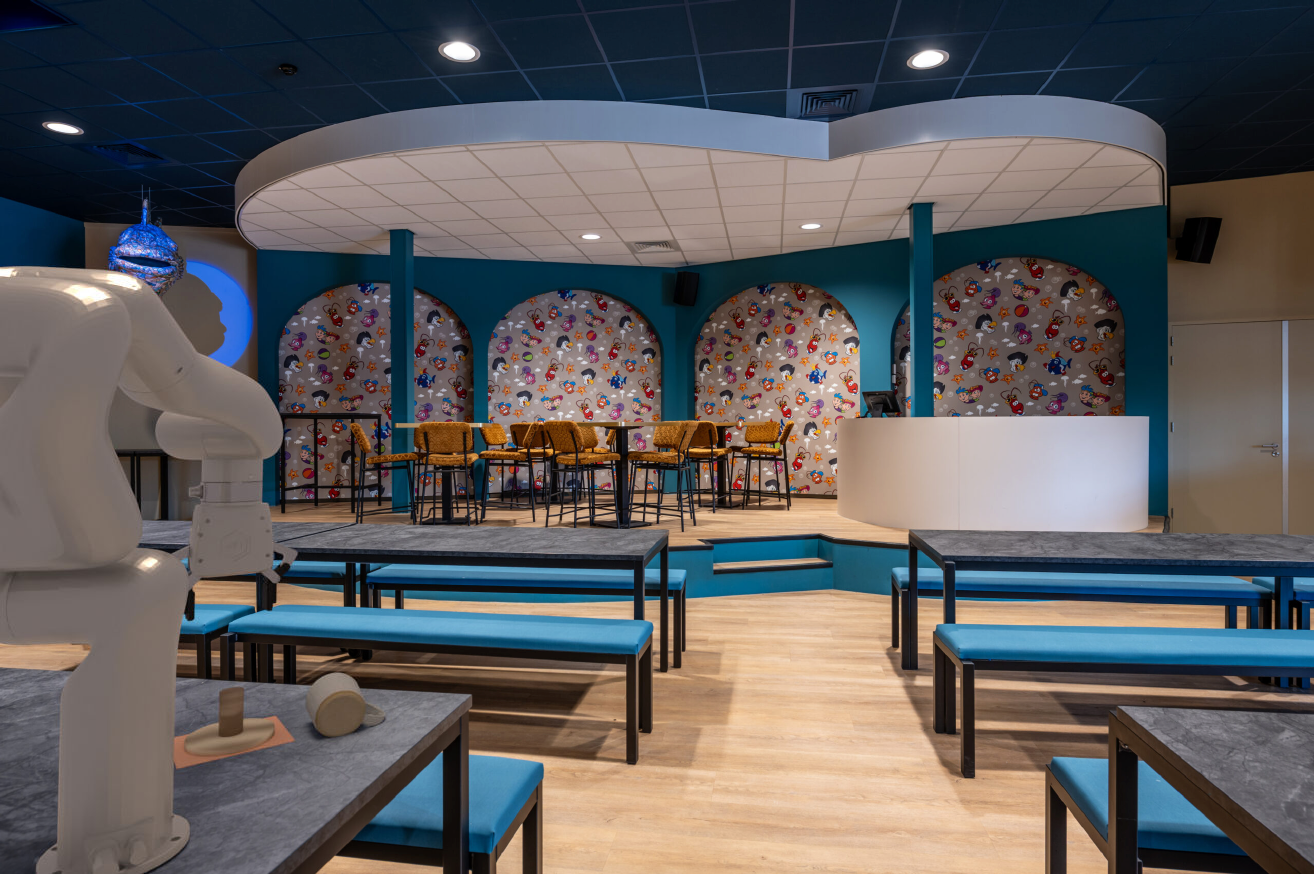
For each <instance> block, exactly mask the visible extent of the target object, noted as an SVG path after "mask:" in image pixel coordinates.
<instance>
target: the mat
mask: <svg viewBox="0 0 1314 874" xmlns="http://www.w3.org/2000/svg"><path fill="white" fill-rule="evenodd" d="M262 719H266V720H269V721H271V722H273V723H274V725H275V734H274V736H273V737H272V738H271V739H270V740H269V741H267V742H266V743H264V744H262V745H260V746H258V747H255V748H253V749H250V750H246V751H243V752H239V753H235V754H230V755H223V756H212V757H202V756H194V755H190V754H188V753H187V752H185V750H184V741H185V738H186V737H187V736H188V735H189V734H190V733H188V734H184V735H178V736H174V766H175V769H176V770H179V769H183V768H188V767H192V766H196V765H200V764H205V763H208V762H209V763H210V762H214V761H218V760H221V759H225V758H229V757H235V756H239V755H242V754H243V755H244V754H246V753H247V754H248V753H251V752H255V751H256V752H257V751H259V750H264V749H268V748H272V747H276V746H280V745H284V744H290V743H293V742H296V739H295V738H294V736H292V735H291V733H290V732H289V731H288V730H287V728H286V726H285V725H284V724H283V723H282V722H281V720H280V719H279V718H278V717H277V715H274V716H268V717H263V718H262Z"/></svg>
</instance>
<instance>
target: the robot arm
mask: <svg viewBox="0 0 1314 874" xmlns="http://www.w3.org/2000/svg"><path fill="white" fill-rule="evenodd" d="M0 377H2V378H3V377H5V378H6V377H7V378H8V377H9V378H12V377H13V378H21V380H20V381H19V383H18V384H17V386H16V388H15V390H14V391H13V393H11V396H10V397H9V398H8V399H7V400H6V401H5V403H4V404H3V405H2V406H1V407H0V644H1V645H9V646H10V645H11V646H35V645H38V646H39V645H62V644H63V645H64V644H75V645H80V644H81V645H89V646H90V651H89V652H88V653H87V655H86V656H85V658H84V659H83V660H82V661H81V662H80V663H79V664H78V666H77V667H76V668H75V669H74V670H73V672H72V673H71V674H70V676H69V677H68V678H67V680H66V681H65V683H64V686H63V688H62V691H61V695H60V702H59V704H60V705H59V709H60V710H59V715H60V716H59V747H58V748H59V749H58V750H59V751H58V753H59V754H58V755H59V756H58V786H57V787H58V791H57V792H58V793H57V794H58V795H57V826H56V827H57V830H56V831H57V834H56V835H57V837H56V838H57V840H56V843H55V844H54V845H52V846H51V847H50V848H48V849H47V850H46V851H45V852H44V853H43V854H42V855H41V856H40V858H39V859H38V861H37V863H36V865H35V866H36V867H35V874H144V873H147V872H150V871H151V870H153V869H155V868H157V867H159V866H161V865H163V864H165V863H166V862H167V861H169V860H170V859H172V858H173V857H175V856H176V855H177V854H178V853H180V851H181V850H182V849H183V848H184V847H185V846H186V844H187V843H188V841H189V840H190V835H191V831H190V830H191V828H190V827H191V825H190V822H189V821H188V819H186V818H185V817H183V816H182V815H178V814H175V813H174V812H173V811H174V808H173V807H174V772H175V771H174V766H175V763H174V737H175V722H176V719H175V718H176V686H177V685H176V684H177V683H176V682H177V662H178V659H177V658H178V650H179V649H178V648H179V642H180V635H181V627H182V623H183V619H184V618H185V620H186V621H187V622H193V621H194V620H195V616H196V611H195V610H196V592H195V591H194V590H193V589H194V586H195V585H196V584H197V583H198V582H199V581H200V580H201V579H202V578H203V579H204V578H217V577H218V578H220V577H229V576H238V575H239V576H240V575H249V574H258V573H260V574H262V575H263V576H264V577H265V578H264V581H263V582H262V590H261V591H262V593H261V594H262V596H261V597H262V598H261V607H262V609H264V610H265V611H267V612H272V611H273V605H274V604H275V605H276V604H277V596H278V595H277V593H278V590H277V589H278V583H279V582H280V580H281V579H282V577H284V576H285V575H286V574H287V573H288V571H290V569H291V566H292V564H293V563H294V561H295V560H296V558H297V556H298V554H299V553H298V551H297V550H296V549H294V548H291V547H288V546H286V545H283V544H282V543H278V542H275V541H274V536H273V525H272V524H273V523H272V516H271V510H270V505H269V503H268V502H263V477H264V476H263V475H264V472H263V469H264V466H263V465H264V460H266V459H268V458H271V457H272V456H274V455H275V454H276V453H278V451H279V450H280V448H281V447H282V443H283V437H284V428H283V427H284V426H283V421H282V418H281V415H280V413H279V411H278V409H277V407H276V405H275V403H274V402H273V400H272V398H271V397H270V395H269V393H268V392H267V390H266V389H265V388H264V387H263V386H262V385H261V384H260V383H258V381H256V380H254V379H253V378H251V377H249V376H248V375H246V374H244V373H242V372H240V371H239V370H236V369H234V368H233V367H230V366H228V365H227V364H224V363H222V362H220V361H218V360H216V359H215V358H212V357H210V356H207V355H204V354H202V353H199V352H198V351H197V349H196V348H195V347H194V345H193V344H192V343H191V341H190V340H189V338H188V337H187V335H186V334H185V333H184V331H183V330H182V328H181V327H180V325H179V324H178V323H177V321H176V319H175V318H174V317H173V315H172V314H171V312H170V310H169V309H168V308H167V307H166V305H165V304H164V303H163V301H162V299H161V298H160V297H159V295H158V294H157V293H156V292H155V290H154V289H153V288H152V287H151V286H150V285H149V284H147V283H146V282H145V281H143V280H142V279H140V278H138V277H137V276H134V275H131V274H128V273H126V272H125V273H124V272H121V271H115V270H106V269H93V268H92V269H91V268H89V269H88V268H74V267H73V268H72V267H71V268H70V267H68V268H67V267H49V266H31V265H30V266H29V265H28V266H27V265H26V266H24V265H23V266H20V265H19V266H15V265H14V266H2V267H1V266H0ZM118 387H119V389H120V390H121V391H122V392H123V394H125V395H126V397H127V396H128V398H130V399H131V400H132V401H134V402H136V403H138V404H139V405H143V406H146V407H149V408H152V409H156V410H160V411H163V412H162V413H161V414H160V416H159V417H158V420H157V421H156V425H155V430H154V431H155V439H156V441H157V444H158V445H159V448H160V449H162V451H163V452H164V453H166V454H167V455H169V456H171V457H173V458H176V459H179V460H186V461H187V460H189V461H201V481H200V484H198V486H192V487H191V486H190V487H188V497H189V498H193V497H194V498H197V499H199V501H200V504H195V506H194V509H193V512H192V513H193V514H192V519H191V525H190V530H189V539H188V545H187V546H185V547H183V548H180V549H178V550H175V552H172V553H169V552H166V551H163V550H159V549H155V548H145V547H138V546H139V545H140V543H141V540H142V537H143V534H144V531H143V530H144V529H143V527H144V523H143V518H142V515H141V510H140V508H139V503H138V501H137V499H136V495H135V494H134V492H133V490H132V487H131V485H130V482H129V480H128V478H127V476H126V473H125V470H124V469H123V466H122V464H121V462H120V459H119V457H118V455H117V453H116V451H115V447H114V445H113V442H112V439H111V436H110V433H109V417H110V410H111V407H112V404H113V400H114V397H115V393H116V391H117V388H118ZM274 552H276V553H278V554H281V555H283V558H282V560H281V562H280V563H279V564H278V565H277V566H276V567H275V568H273V565H274V558H275V556H274V554H275V553H274ZM185 559H187V568H188V570H187V568H186V566H185V564H184V563H183V562H182V561H183V560H185Z"/></svg>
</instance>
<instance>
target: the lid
mask: <svg viewBox="0 0 1314 874" xmlns="http://www.w3.org/2000/svg"><path fill="white" fill-rule="evenodd" d="M218 693H219V695H218V696H219V697H218V698H219V699H218V722H215V723H212V724H209V725H205V726H203V727H200V728H198V729H196V730H194V731H192V732H191V733H188V734H189V735H188V736H187V737H186V738H185V741H184V750H185V752H187V753H188V754H190V755H194V756H202V757H212V756H223V755H230V754H235V753H239V752H243V751H246V750H250V749H253V748H255V747H258V746H260V745H262V744H264V743H266V742H267V741H269V740H270V739H271V738H272V737H273V736H274V734H275V725H274V723H273V722H271V721H269V720H266V719H263V718H260V717H259V718H258V717H255V718H253V717H251V718H250V717H247V718H246V717H244V706H245V705H244V703H245V700H244V699H245V688H244V687H242V686H232V687H227V688H224V689H221V690H220V691H219V692H218Z"/></svg>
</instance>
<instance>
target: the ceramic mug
mask: <svg viewBox="0 0 1314 874" xmlns="http://www.w3.org/2000/svg"><path fill="white" fill-rule="evenodd" d="M361 691H362V690H361V689H360V686H359V685H358V682H357V681H356V680H355V679H354V678H353V677H352V676H351V675H348V674H346V673H344V672H343V673H342V672H332V673H328V674H325V675H323V676H321V677H319V678H318V679H317V680H315V682H314V683H313V684H312V685H311V686H310V687H309V690H308V691H307V694H306V698H305V708H306V710H307V711H306V712H307V715H308V716H309V718H310V719H311V721H312V724H313V726H314V728H315V729H316V730H317V731H318V732H319V733H320V734H321V735H322V736H324V737H327V738H335V737H342V736H345V735H349V734H352V733H354V732H355V731H356V730H357V729H358V728H359V727H360V726H361V725H365V726H370V727H371V726H372V727H374V726H378V725H379V724H382V723H383V721H384V720H385V717H386V713H385V711H384V710H383V709H381V708H380V707H378V706H377V705H374V704H372V703H370V702H367V701H366V699H365V697H364V695H363V694H362V692H361Z"/></svg>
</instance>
